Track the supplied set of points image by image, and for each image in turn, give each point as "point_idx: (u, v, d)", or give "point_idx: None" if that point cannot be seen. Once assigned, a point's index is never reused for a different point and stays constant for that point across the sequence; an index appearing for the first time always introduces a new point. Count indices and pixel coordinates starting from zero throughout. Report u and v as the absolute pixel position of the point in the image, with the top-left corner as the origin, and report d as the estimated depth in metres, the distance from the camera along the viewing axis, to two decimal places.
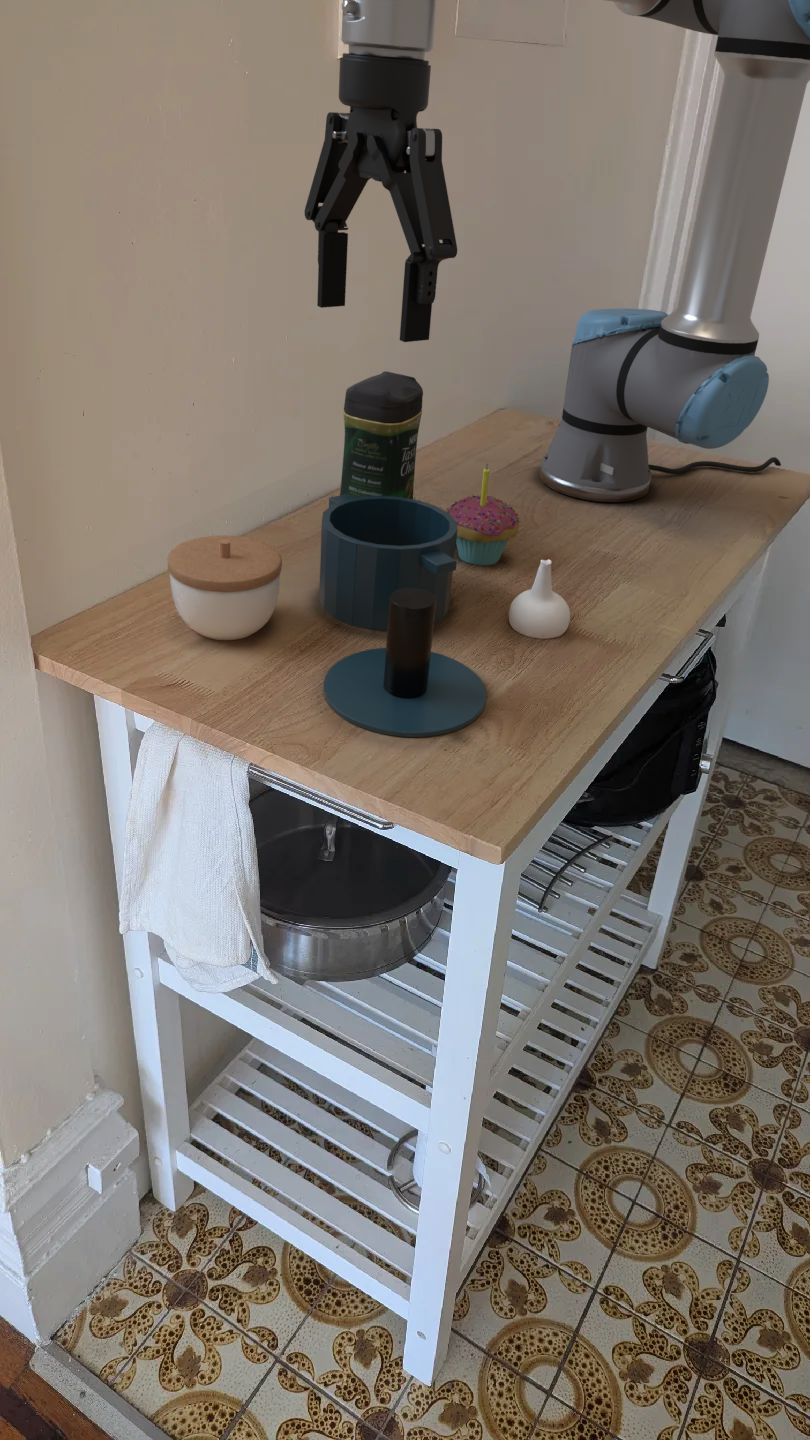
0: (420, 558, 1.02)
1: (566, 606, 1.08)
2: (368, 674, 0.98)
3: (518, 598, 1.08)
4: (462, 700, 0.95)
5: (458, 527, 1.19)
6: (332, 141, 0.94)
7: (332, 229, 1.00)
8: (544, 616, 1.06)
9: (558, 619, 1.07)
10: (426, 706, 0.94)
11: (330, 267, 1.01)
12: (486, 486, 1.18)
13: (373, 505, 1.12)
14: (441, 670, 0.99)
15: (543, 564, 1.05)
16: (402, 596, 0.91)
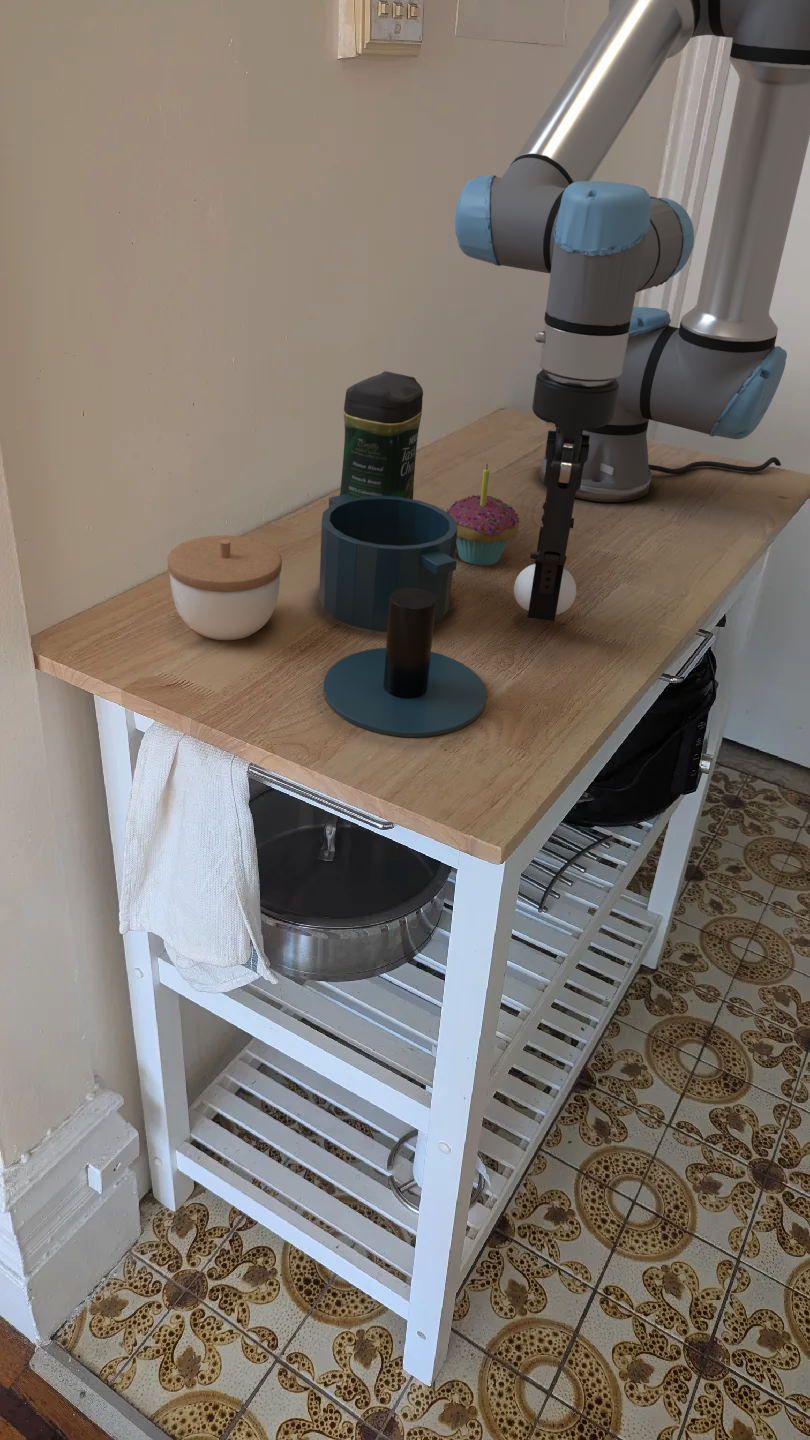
0: (420, 558, 1.02)
1: (572, 580, 1.07)
2: (368, 674, 0.98)
3: (523, 573, 1.07)
4: (462, 700, 0.95)
5: (458, 527, 1.19)
6: None
7: None
8: None
9: (564, 593, 1.05)
10: (426, 706, 0.94)
11: None
12: (486, 486, 1.18)
13: (373, 505, 1.12)
14: (441, 670, 0.99)
15: None
16: (402, 596, 0.91)
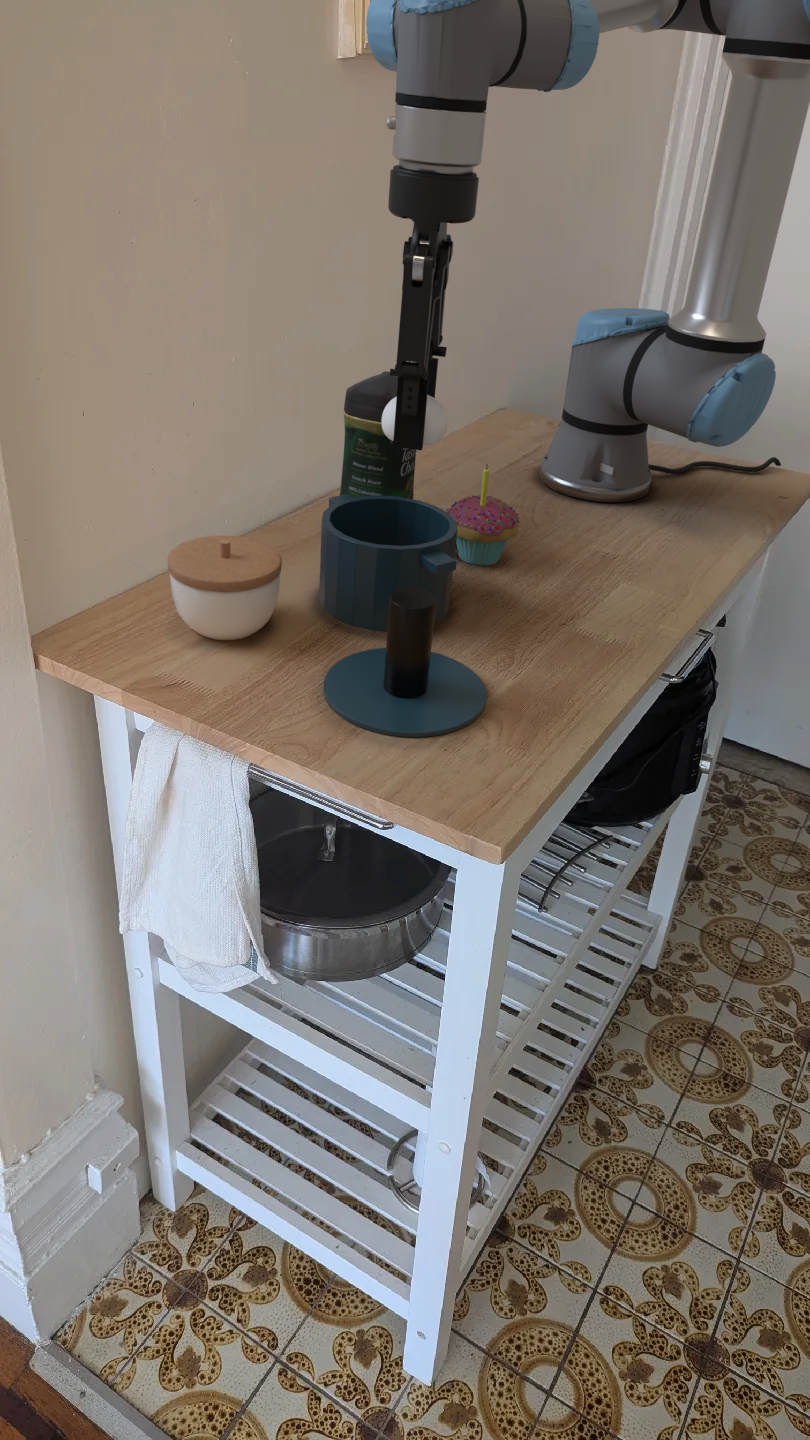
0: (420, 558, 1.02)
1: (442, 409, 1.00)
2: (368, 674, 0.98)
3: (390, 401, 1.00)
4: (462, 700, 0.95)
5: (458, 527, 1.19)
6: None
7: None
8: None
9: (432, 421, 0.98)
10: (426, 706, 0.94)
11: None
12: (486, 486, 1.18)
13: (373, 505, 1.12)
14: (441, 670, 0.99)
15: None
16: (402, 596, 0.91)
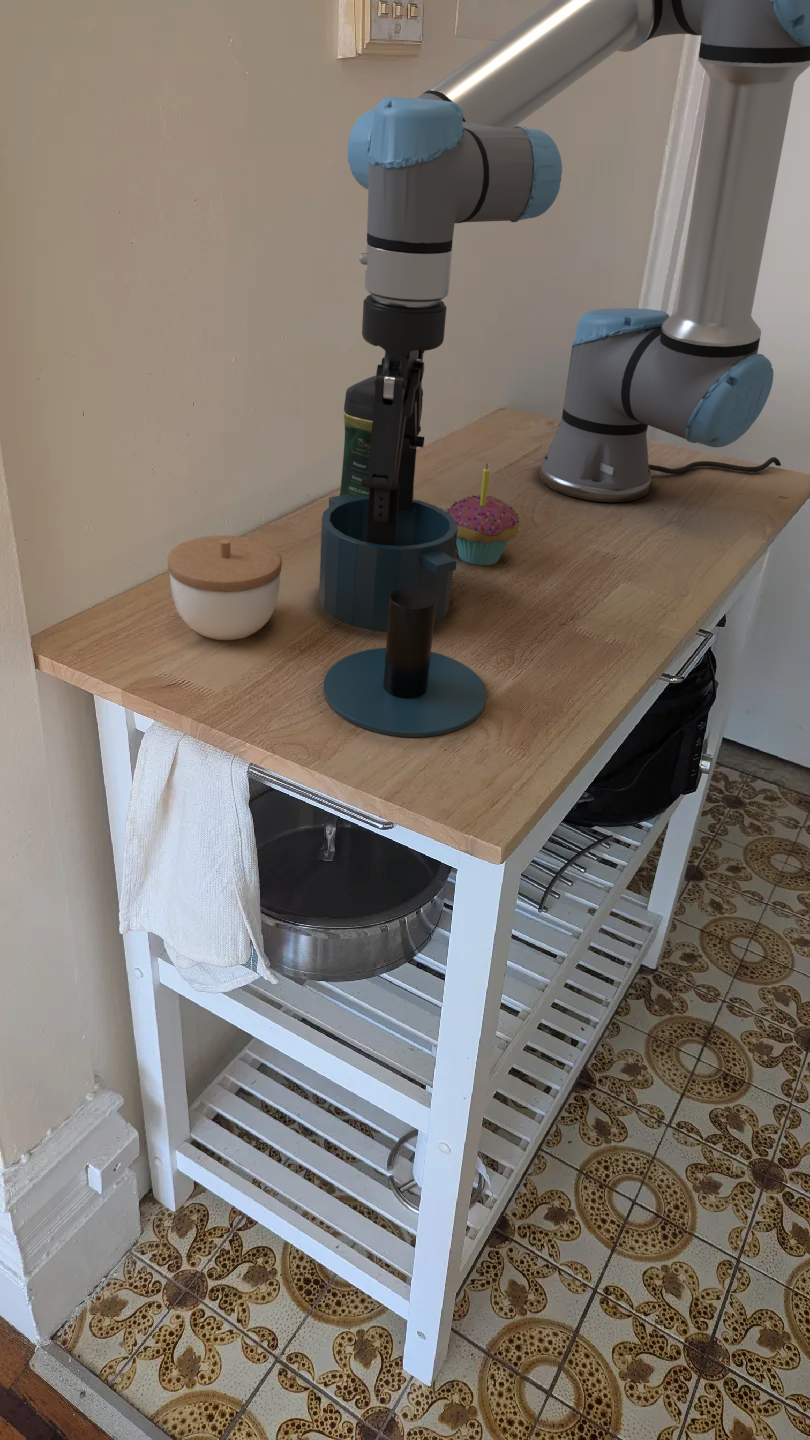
0: (420, 558, 1.02)
1: None
2: (368, 674, 0.98)
3: None
4: (462, 700, 0.95)
5: (458, 527, 1.19)
6: None
7: (403, 444, 1.08)
8: None
9: None
10: (426, 706, 0.94)
11: None
12: (486, 486, 1.18)
13: None
14: (441, 670, 0.99)
15: None
16: (402, 596, 0.91)
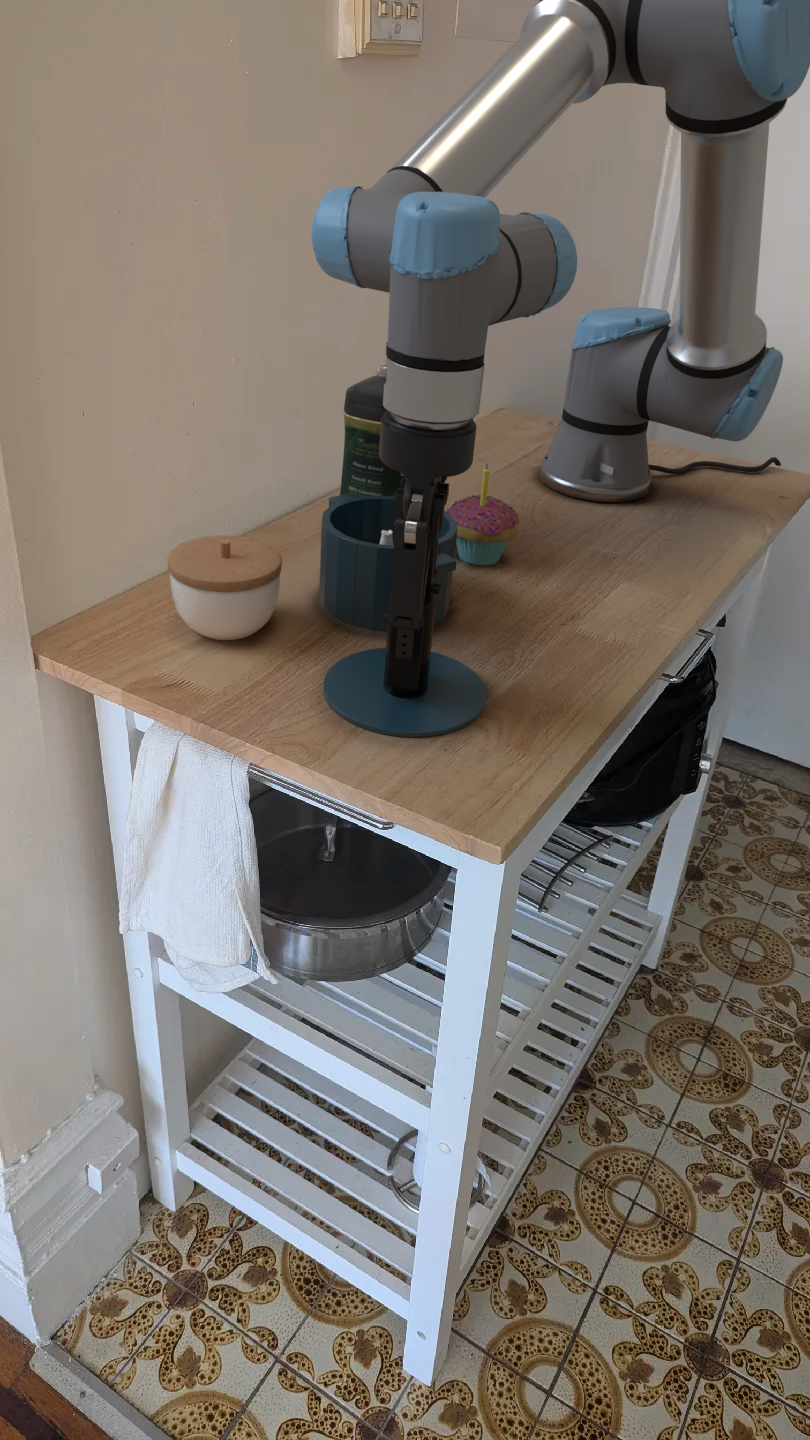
0: None
1: None
2: (368, 674, 0.98)
3: None
4: (462, 700, 0.95)
5: (458, 527, 1.19)
6: None
7: None
8: None
9: None
10: (426, 706, 0.94)
11: None
12: (486, 486, 1.18)
13: (373, 505, 1.12)
14: (441, 670, 0.99)
15: (384, 534, 1.07)
16: None
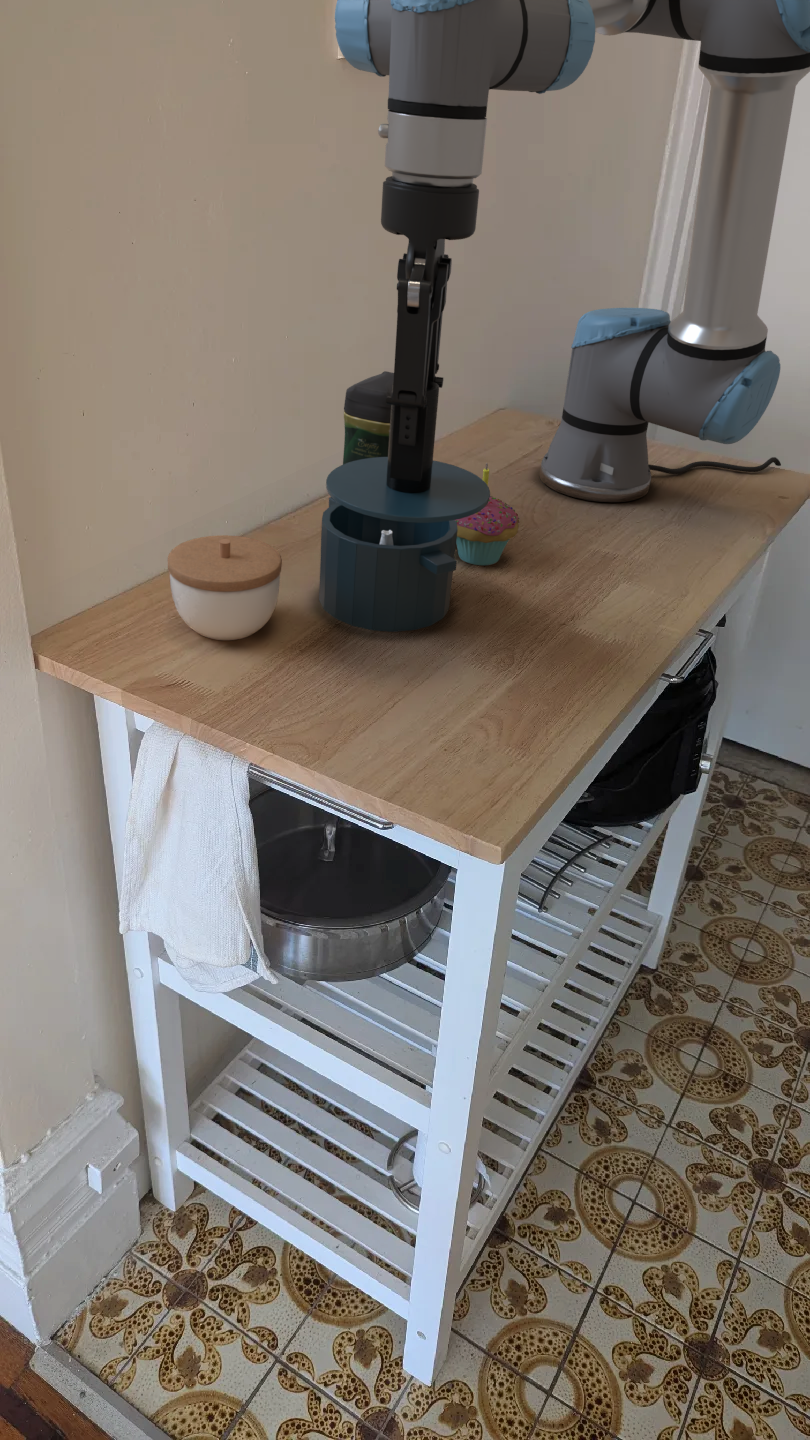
0: (420, 558, 1.02)
1: None
2: (371, 475, 0.97)
3: None
4: (466, 495, 0.94)
5: (458, 527, 1.19)
6: None
7: None
8: None
9: None
10: (430, 499, 0.93)
11: None
12: None
13: None
14: (444, 473, 0.99)
15: (384, 534, 1.07)
16: None
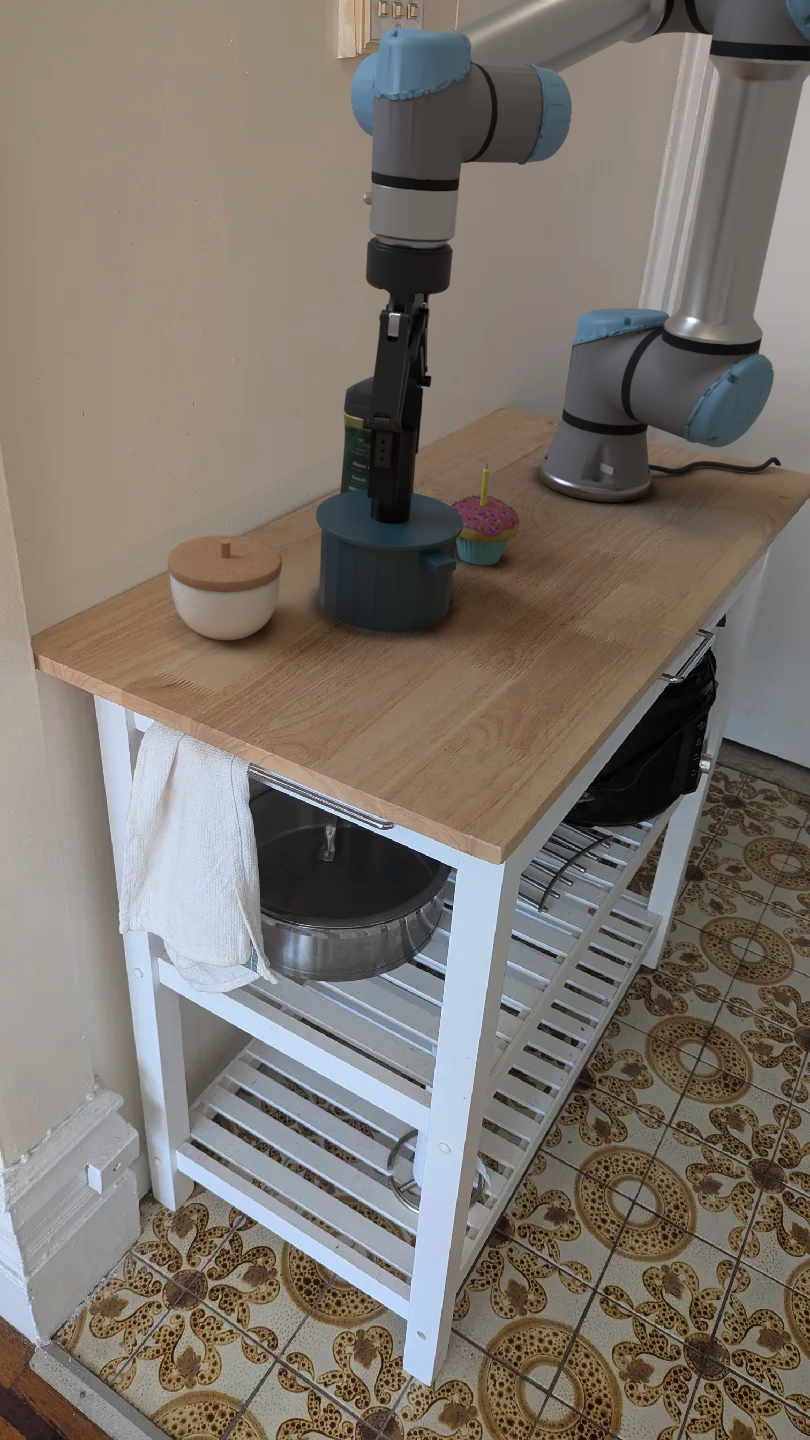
0: (420, 558, 1.02)
1: None
2: (357, 507, 1.08)
3: None
4: (441, 526, 1.05)
5: None
6: None
7: (410, 384, 1.06)
8: None
9: None
10: (408, 529, 1.04)
11: (402, 417, 1.08)
12: (486, 486, 1.18)
13: None
14: (423, 505, 1.10)
15: None
16: None
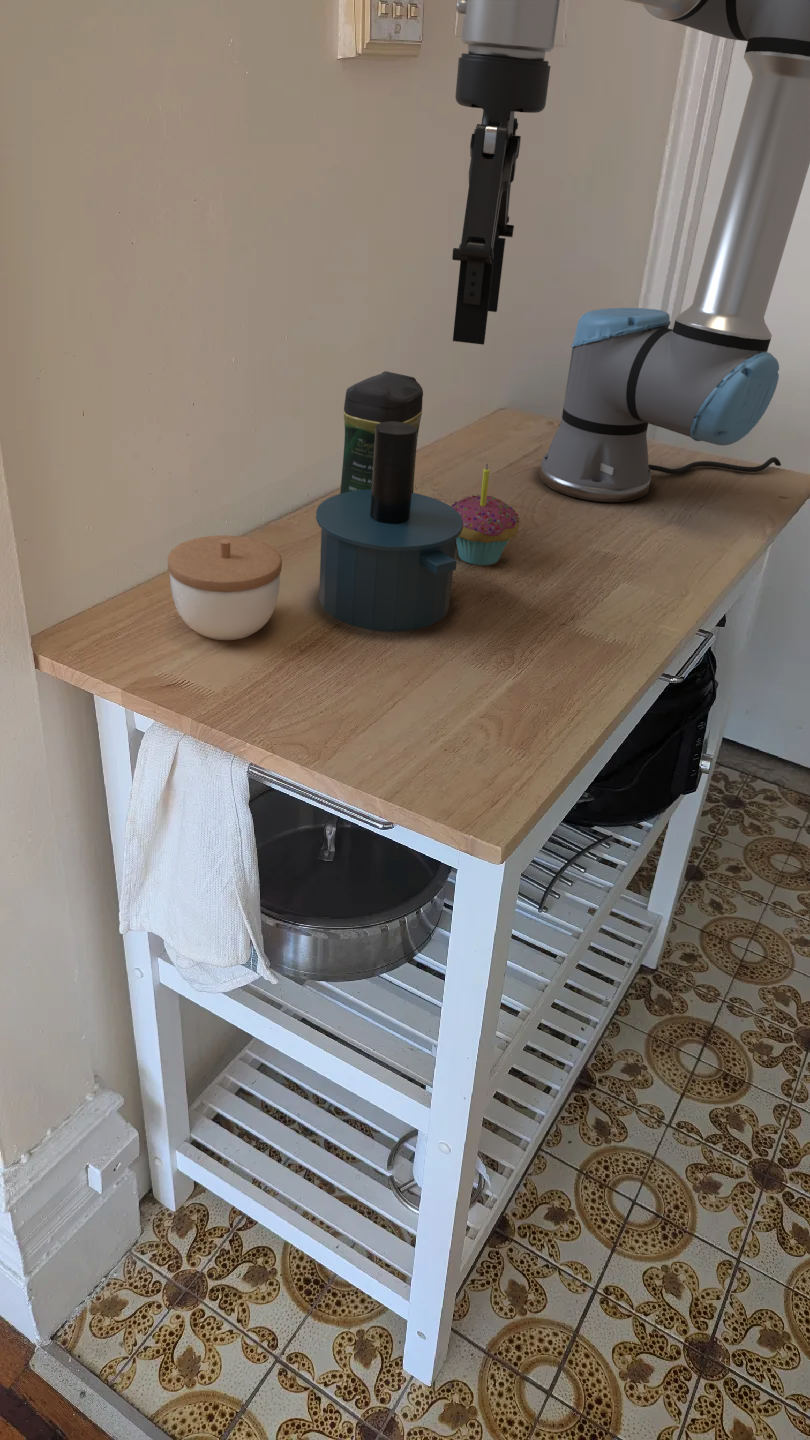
0: (420, 558, 1.02)
1: None
2: (357, 507, 1.08)
3: None
4: (441, 526, 1.05)
5: None
6: None
7: None
8: None
9: None
10: (408, 529, 1.04)
11: None
12: (486, 486, 1.18)
13: None
14: (423, 505, 1.10)
15: None
16: (386, 426, 1.02)
